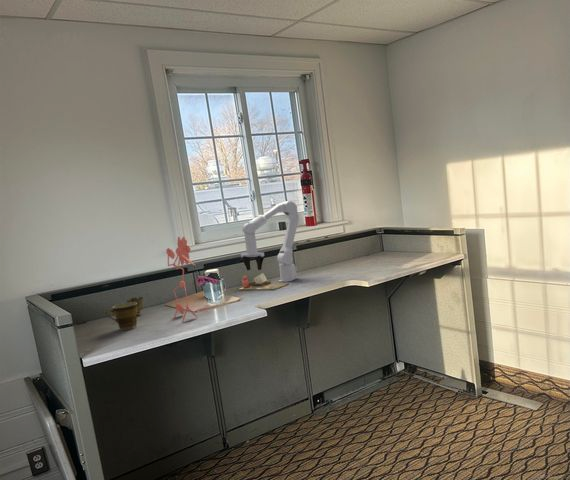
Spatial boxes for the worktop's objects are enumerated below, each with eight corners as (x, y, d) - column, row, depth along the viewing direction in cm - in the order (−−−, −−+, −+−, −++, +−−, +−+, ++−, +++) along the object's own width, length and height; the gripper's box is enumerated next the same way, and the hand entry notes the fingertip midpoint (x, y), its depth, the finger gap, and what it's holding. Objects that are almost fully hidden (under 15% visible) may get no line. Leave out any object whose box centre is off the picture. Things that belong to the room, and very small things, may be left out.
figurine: (189, 324, 206) (179, 238, 203) (164, 316, 227) (155, 238, 224) (222, 316, 215) (213, 233, 212) (195, 309, 236) (187, 234, 233)
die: (256, 276, 277) (263, 272, 275) (261, 283, 277) (267, 280, 275) (253, 278, 273) (259, 274, 271) (257, 286, 273) (263, 282, 271)
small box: (209, 294, 269) (206, 269, 268) (221, 292, 269) (218, 268, 268) (207, 297, 261) (204, 272, 260) (219, 295, 261) (216, 270, 260)
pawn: (245, 286, 274) (244, 275, 273) (250, 286, 272) (249, 275, 271) (241, 288, 271) (240, 276, 270) (246, 288, 269) (245, 276, 269)
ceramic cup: (137, 323, 219) (134, 300, 218) (142, 327, 210) (139, 304, 209) (106, 330, 213) (102, 307, 212) (110, 335, 204) (106, 310, 203)
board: (254, 284, 282) (254, 280, 282) (289, 284, 269) (288, 280, 269) (239, 290, 271) (238, 286, 271) (274, 290, 258) (273, 286, 258)
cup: (126, 317, 234) (123, 300, 233) (133, 313, 241) (130, 297, 241) (141, 316, 233) (138, 299, 232) (147, 312, 240) (145, 296, 239)
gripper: (236, 246, 275) (239, 271, 276) (257, 245, 267) (260, 271, 268) (244, 244, 281) (247, 269, 282) (265, 243, 273) (268, 268, 274)
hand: (254, 270), depth 276 cm, fingers open, 7 cm apart
